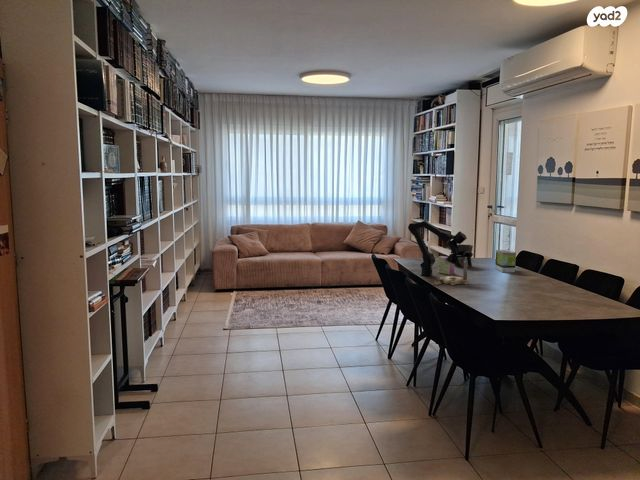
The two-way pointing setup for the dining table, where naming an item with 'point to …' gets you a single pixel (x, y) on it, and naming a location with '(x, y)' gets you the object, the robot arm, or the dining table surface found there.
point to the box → (445, 266)
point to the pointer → (437, 282)
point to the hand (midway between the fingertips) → (466, 267)
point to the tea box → (505, 260)
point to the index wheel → (456, 280)
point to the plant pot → (464, 254)
